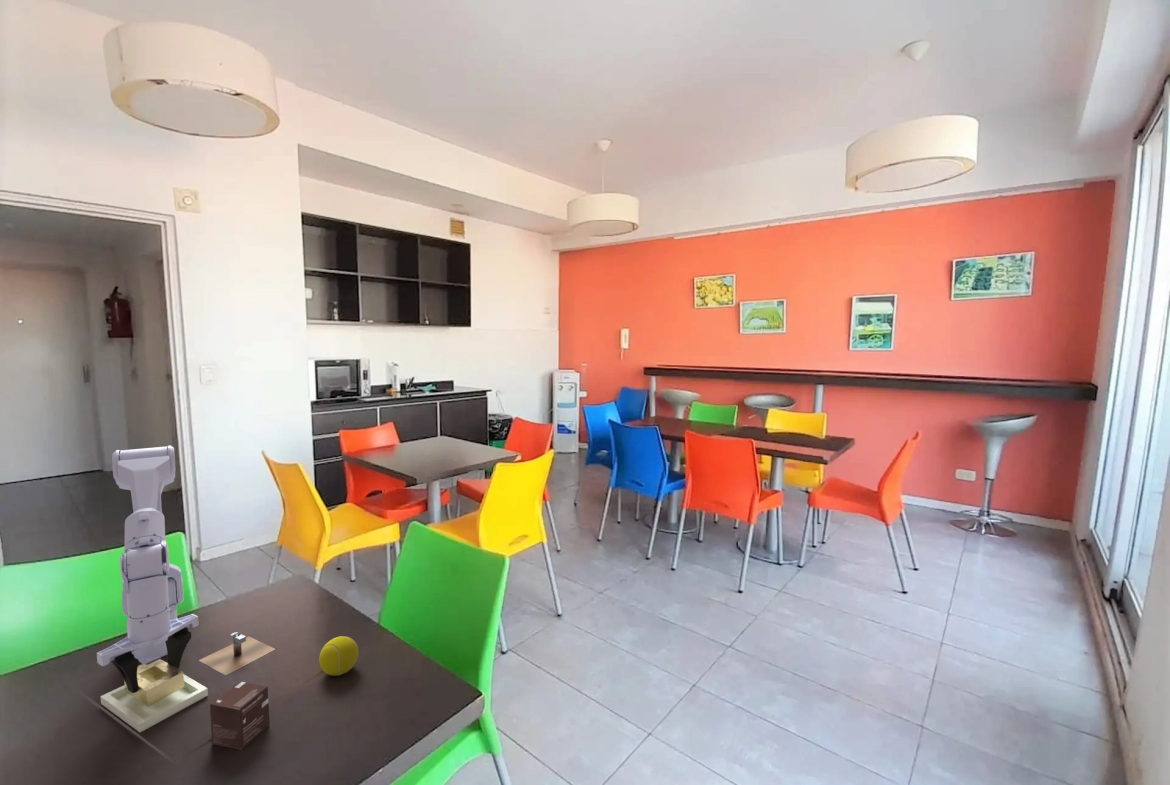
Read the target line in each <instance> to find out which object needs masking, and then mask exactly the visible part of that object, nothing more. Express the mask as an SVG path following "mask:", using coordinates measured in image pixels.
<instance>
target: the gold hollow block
mask: <svg viewBox="0 0 1170 785" xmlns="http://www.w3.org/2000/svg"><path fill="white" fill-rule="evenodd" d="M183 674H184V671H182V670H181V669H180V668H179V669H177V668H175V667H173V666H172V665H170V664H168V662H166V661H164V660H163V659H161V658H158V659H156V660H154V661H151V662H149V663H147V664H145V663H143V664H142V663H140V664H138V667H137V680H138V691H137V692H135V693H132V692H130V691H129V690H128V688H127V685H126V682H125V680H124V679H123V681H124V682H123V683H124V685H125V691H126V692H127V693H129V694H130V695H132V696H133V697H135V698H136V699H138V700H139V701H141V702H142V703H144V704H145V705H147V706H150V705H152V704H154V703H156V702H158V701H160V700H161V699H163V698H165V697H167V696H169V695H171V694H173V693H174V692H176V691H178V690H180V689H182V688H184V687H185V685H184V676H183ZM156 680H157V681H156ZM154 681H155V682H154ZM152 682H153V683H152Z"/></svg>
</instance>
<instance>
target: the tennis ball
mask: <svg viewBox="0 0 1170 785" xmlns="http://www.w3.org/2000/svg"><path fill="white" fill-rule="evenodd" d="M359 651H360V650H359V646H358V644H357V643H356V640H354V639H353V638H351V637H349V636H345V635H342V636H341V635H340V636H337V637H334V638H331V639H330V640H329V641H328V642H326V643H325V644H324V645H323V647H322V649H321V651H320V653H319V658H318V662H319V665H320V669H322V671H323V672H324V673H325V674H327V675H329V676H335V677H337V676H342V675H343V674H346V673H348V672H349V671H350V670H351V669H352V668H353V667H354V666H355V664H356V662H357V660H358V657H359Z"/></svg>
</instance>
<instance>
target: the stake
mask: <svg viewBox="0 0 1170 785" xmlns="http://www.w3.org/2000/svg"><path fill="white" fill-rule="evenodd" d="M246 637H247V636H246V635H244V634H242V633H241V632H237V631H235V632H233V633H231V634H230V635H229V638H230V639H229V640H231V641H232V642H233V643H232V644H233V649H234V656H235V657H237V656H240V655H241V654H242V647H241V643H243V642H245V641H246Z"/></svg>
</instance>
